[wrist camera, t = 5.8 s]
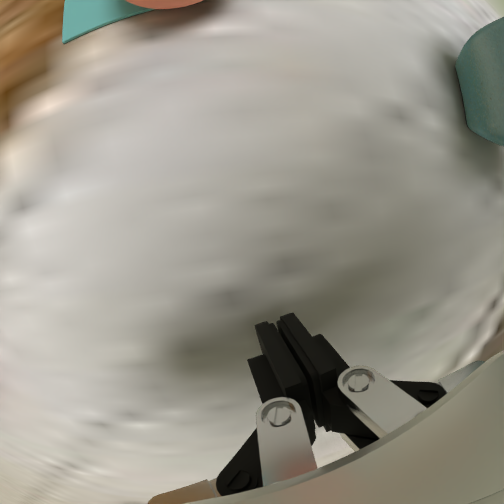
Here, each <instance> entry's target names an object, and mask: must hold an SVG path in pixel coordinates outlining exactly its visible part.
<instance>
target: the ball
mask: <svg viewBox="0 0 504 504" xmlns="http://www.w3.org/2000/svg"><path fill="white" fill-rule="evenodd" d="M126 1H127V2H129V3H132V4H134V5H137V6H141V7H145V8H152V9H172V8H180V7H185V6H189V5H192V4H195V3H198V2H200V1H203V0H126Z"/></svg>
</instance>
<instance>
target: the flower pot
mask: <svg viewBox="0 0 504 504" xmlns="http://www.w3.org/2000/svg"><path fill="white" fill-rule="evenodd" d="M455 67H456V71H457V75H458V79H459V83H460V87H461V91H462V96H463V102H464V108H465V114H466V120H467V125H468V127H469V129H470V130H472V131H473V132H475V133H476V134H478V135H480V136H481V137H483V138H485V139H487V140H489V141H491V142H493V143H496V144H498V145H501V146H504V17H502V18H500V19H498V20H496V21H494V22H492V23H490V24H488V25H486V26H484V27H483V28H481V29H480V30H478V31H477V32H476V33H475V34H474V35H472V36H471V37H470V39H469V40H468V41H467V42H466V44H465V45H464V47H463V49H462V50H461V52H460V55H459V57H458V59H457V62H456V64H455Z"/></svg>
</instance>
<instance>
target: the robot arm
mask: <svg viewBox="0 0 504 504" xmlns="http://www.w3.org/2000/svg"><path fill="white" fill-rule="evenodd" d="M277 327H278V330H277V328H276V327H275V325H274V323H271V324H269V323H268V322H267V321H266V322H263V323H260V324H257V325H255V329H256V333H257V336H258V339H259V343H260V346H261V350H262V353H263V355H260V356H257V357H254V358H251V359H248V360H247V361H248V364H249V366H250V369H251V372H252V375H253V378H254V381H255V384H256V387H257V389H258V392H259V395H260V398H261V401H262V403H263V404H262V405H261V406H260V407H259V409H258V411H257V413H256V424H257V428H256V429H255V431H254V432H253V433H252V435H251V436H250V437H249V438H248V440H247V441H246V442H245V443H244V445H243V446H242V447H241V449H240V450H239V451H238V452H237V453H236V455H235V456H234V457H233V458H232V460H231V461H230V462H229V463H228V464H227V465H226V467H225V468H224V469H223V470H222V471H221V472H220V474H219V476H218V477H217V478H216V479H213V480H210V481H208V480H207V479H206V480H203V481H201V482H198V483H195V484H192V485H189V486H186V487H183V488H180V489H177V490H173V491H170V492H166V493H163V494H159V495H157V496H154V497H153V498H152V499H151V500H150V501H149V502H148V504H504V351H502V352H500V353H498V354H496V355H495V356H493V357H492V358H490V359H489V360H487V361H486V362H484V361H475V362H472V363H471V364H469V365H467V366H465V367H463V368H461V369H459V370H457V371H455V372H453V373H451V374H449V375H447V376H445V377H443V378H441V379H439V380H438V383H432V382H411V381H393V380H388V379H387V378H385V377H384V376H383V375H381V374H380V373H379V372H377V371H376V370H375V369H373V368H371V367H368V366H354V367H351V368H350V367H349V366H348V365H347V364H346V362H345V361H344V360H343V359H342V358H341V356H340V355H339V354H338V353H337V352H336V351H335V349H334V348H333V347H332V346H331V345H330V344H329V342H328V341H327V340H326V339H325V338H324V336H323V335H321V334H318V335H316V336H313V337H312V336H311V335H310V334H309V332H308V331H307V330H306V328H305V327H304V326H303V325H302V323H301V322H300V321H299V319H298V318H297V317H296V316H295V314H294V313H290V314H287V315H284V316H281V317H280V321H277ZM278 331H279V332H278ZM314 420H315V422H316V424H317V425H318V427H322V426H324V428H325V430H326V432H328V431H330V430H332V432H337V433H340V435H341V437H342V438H343V439H344V440H345V441H346V443H347V444H348V445H349V446H350V447H351V448H352V449H353V450H354V451H355V452H354V453H352V454H350V455H348V456H346V457H343V458H341V459H339V460H337V461H335V462H332V463H330V464H328V465H325V466H323V467H320V468H318V469H317V465H316V462H315V458H314V454H313V451H312V447H311V446H312V445H313V443H314V441H315V439H316V435H315V423H314Z"/></svg>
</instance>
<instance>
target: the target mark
mask: <svg viewBox="0 0 504 504" xmlns="http://www.w3.org/2000/svg"><path fill="white" fill-rule="evenodd" d="M151 10H154V9H152V8H145V7H141V6H137V5H134V4H132V3H129V2H127V1H126V0H65V5H64V17H63V37H62V42H63V44H65V43H67V42H69V41H71V40H73V39H75V38H77V37H79V36H81V35H84V34H86V33H88V32H90V31H93V30H95V29H98V28H100V27H102V26H105V25H108V24H110V23H113V22H116V21H118V20H121V19H124V18H127V17H130V16H133V15H137V14H140V13H143V12H147V11H151Z"/></svg>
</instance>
